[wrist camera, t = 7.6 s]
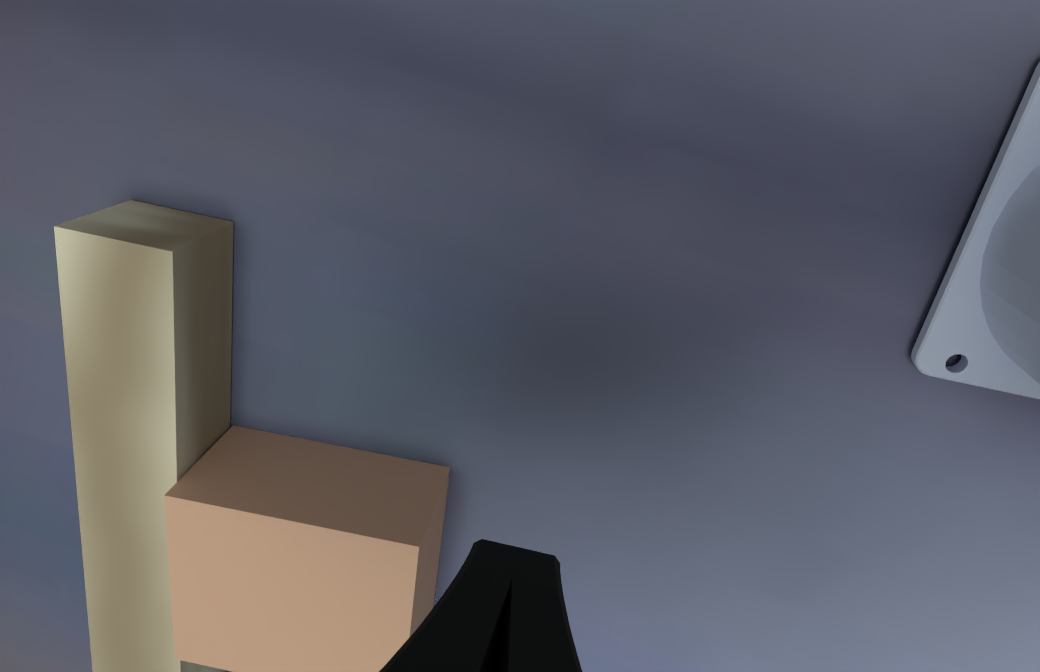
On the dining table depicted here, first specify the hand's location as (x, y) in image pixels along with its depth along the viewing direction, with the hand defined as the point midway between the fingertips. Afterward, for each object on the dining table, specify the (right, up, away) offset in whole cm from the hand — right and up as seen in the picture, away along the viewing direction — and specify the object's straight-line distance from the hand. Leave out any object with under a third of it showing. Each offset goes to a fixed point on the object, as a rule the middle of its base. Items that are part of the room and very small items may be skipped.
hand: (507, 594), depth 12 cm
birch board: (-11, -1, +12) cm, 17 cm away
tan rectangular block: (-6, -2, +12) cm, 14 cm away
